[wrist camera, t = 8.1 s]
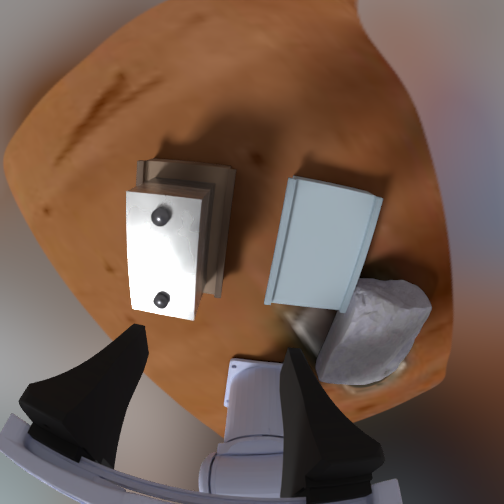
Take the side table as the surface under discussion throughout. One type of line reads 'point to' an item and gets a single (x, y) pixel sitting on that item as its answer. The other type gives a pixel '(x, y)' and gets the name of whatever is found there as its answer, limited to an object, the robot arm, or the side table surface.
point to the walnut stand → (221, 205)
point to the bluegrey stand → (321, 244)
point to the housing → (168, 244)
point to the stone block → (372, 332)
